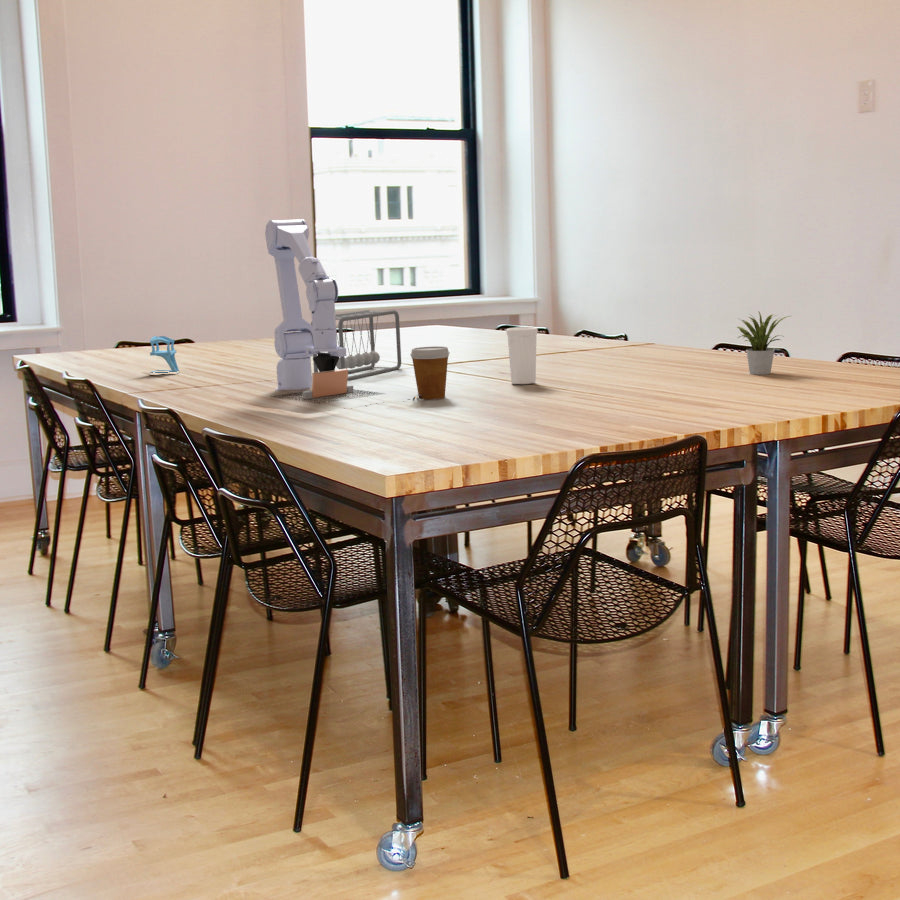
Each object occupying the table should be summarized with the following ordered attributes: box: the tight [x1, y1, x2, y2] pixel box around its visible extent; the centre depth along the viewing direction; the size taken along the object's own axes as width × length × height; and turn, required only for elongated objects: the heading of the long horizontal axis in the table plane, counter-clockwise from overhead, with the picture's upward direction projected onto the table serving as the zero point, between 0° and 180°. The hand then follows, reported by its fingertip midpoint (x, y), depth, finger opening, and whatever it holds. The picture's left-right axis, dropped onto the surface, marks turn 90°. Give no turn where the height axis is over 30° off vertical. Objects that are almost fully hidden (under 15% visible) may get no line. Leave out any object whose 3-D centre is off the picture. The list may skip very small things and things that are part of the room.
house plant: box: [736, 311, 791, 376], centre depth 285 cm, size 14×14×16 cm
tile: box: [310, 368, 349, 399], centre depth 271 cm, size 1×10×6 cm, turn 131°
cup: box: [506, 326, 539, 385], centre depth 284 cm, size 8×8×14 cm
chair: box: [149, 335, 180, 373], centre depth 343 cm, size 8×8×12 cm
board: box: [270, 384, 386, 404], centre depth 273 cm, size 22×20×3 cm
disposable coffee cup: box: [409, 345, 450, 401], centre depth 266 cm, size 10×10×12 cm
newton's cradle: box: [310, 309, 402, 382], centre depth 320 cm, size 30×10×18 cm, turn 150°
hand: (327, 384), depth 272 cm, fingers closed, pressing on tile
